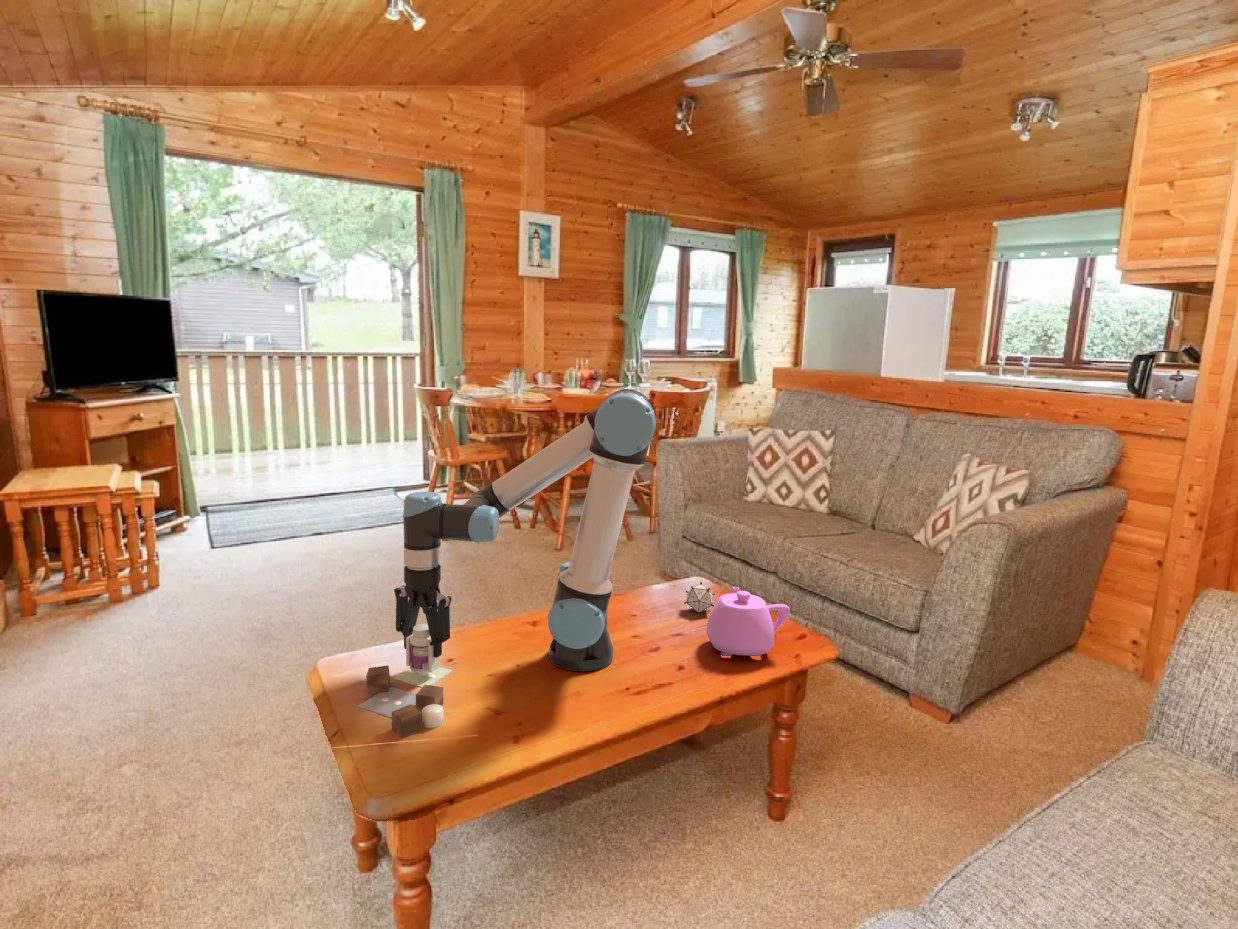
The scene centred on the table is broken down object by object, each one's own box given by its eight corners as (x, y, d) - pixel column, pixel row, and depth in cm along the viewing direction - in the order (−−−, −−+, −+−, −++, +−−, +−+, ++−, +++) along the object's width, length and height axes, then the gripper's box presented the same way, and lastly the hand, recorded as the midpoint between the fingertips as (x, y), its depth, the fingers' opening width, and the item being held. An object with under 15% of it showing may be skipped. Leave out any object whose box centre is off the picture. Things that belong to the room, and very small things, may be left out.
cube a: (443, 705, 139) (443, 687, 139) (434, 715, 135) (434, 697, 135) (424, 703, 140) (424, 684, 139) (415, 713, 136) (415, 694, 135)
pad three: (452, 672, 153) (452, 670, 153) (425, 689, 145) (425, 688, 145) (420, 662, 157) (420, 661, 156) (392, 679, 148) (392, 678, 148)
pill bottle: (413, 662, 153) (412, 621, 151) (437, 663, 153) (437, 622, 151) (407, 674, 148) (406, 632, 146) (432, 674, 148) (432, 632, 146)
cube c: (390, 683, 146) (388, 665, 146) (388, 691, 142) (386, 673, 142) (370, 685, 145) (368, 668, 145) (368, 694, 142) (366, 676, 141)
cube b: (411, 723, 133) (422, 732, 130) (391, 731, 130) (402, 740, 127) (410, 704, 132) (421, 712, 129) (391, 711, 129) (402, 720, 126)
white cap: (447, 721, 134) (447, 707, 133) (434, 732, 130) (434, 717, 129) (431, 716, 135) (431, 702, 135) (417, 726, 132) (417, 712, 131)
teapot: (776, 632, 182) (780, 578, 179) (792, 668, 162) (798, 607, 160) (701, 628, 182) (705, 574, 180) (708, 663, 163) (713, 603, 160)
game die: (693, 626, 193) (675, 601, 189) (695, 605, 200) (678, 581, 196) (721, 616, 189) (704, 591, 186) (723, 595, 196) (706, 570, 193)
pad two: (424, 698, 141) (424, 696, 141) (393, 719, 133) (393, 717, 133) (389, 688, 145) (389, 686, 145) (357, 707, 137) (357, 706, 137)
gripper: (468, 567, 146) (467, 669, 150) (400, 552, 153) (401, 650, 157) (446, 577, 139) (446, 684, 143) (376, 562, 146) (377, 663, 151)
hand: (422, 666), depth 150 cm, fingers closed on pill bottle, 5 cm apart
